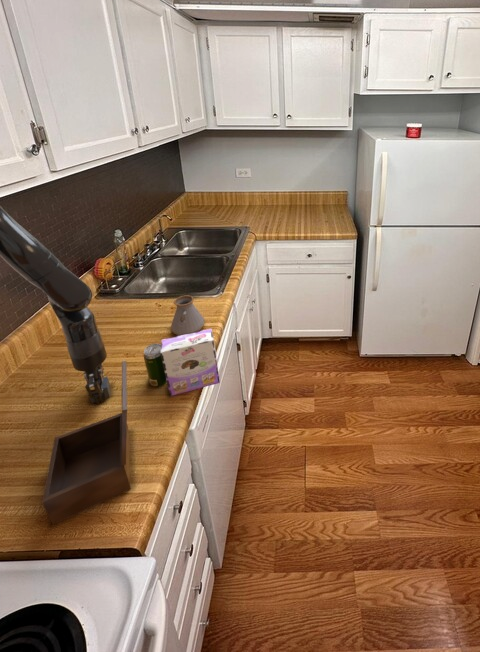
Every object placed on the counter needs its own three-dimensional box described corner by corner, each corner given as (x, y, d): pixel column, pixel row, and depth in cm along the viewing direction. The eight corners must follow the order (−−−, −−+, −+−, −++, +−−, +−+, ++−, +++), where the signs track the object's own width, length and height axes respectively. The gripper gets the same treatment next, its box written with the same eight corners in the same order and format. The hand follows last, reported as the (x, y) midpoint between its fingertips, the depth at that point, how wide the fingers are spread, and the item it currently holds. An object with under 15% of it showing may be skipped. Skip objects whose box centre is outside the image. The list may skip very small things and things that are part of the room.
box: (53, 527, 65) (41, 502, 62) (64, 460, 77) (54, 437, 74) (131, 490, 71) (124, 466, 68) (130, 434, 83) (123, 412, 80)
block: (92, 405, 91) (88, 393, 89) (93, 393, 94) (89, 382, 93) (110, 399, 93) (107, 387, 91) (110, 387, 96) (107, 376, 95)
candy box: (218, 370, 103) (212, 327, 97) (220, 385, 98) (214, 340, 91) (170, 383, 98) (161, 338, 92) (169, 398, 93) (159, 352, 87)
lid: (122, 410, 64) (127, 409, 64) (122, 361, 76) (126, 360, 76) (121, 466, 68) (126, 464, 68) (121, 411, 80) (125, 410, 80)
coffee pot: (173, 323, 124) (166, 289, 118) (205, 317, 127) (200, 284, 122) (168, 364, 105) (161, 325, 100) (206, 356, 109) (201, 318, 103)
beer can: (165, 388, 96) (158, 356, 92) (146, 388, 96) (138, 356, 92) (172, 374, 101) (166, 343, 97) (155, 374, 101) (148, 342, 97)
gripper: (72, 336, 91) (87, 383, 98) (65, 370, 80) (83, 421, 86) (104, 327, 95) (117, 373, 101) (101, 360, 83) (116, 409, 89)
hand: (101, 395), depth 93 cm, fingers closed on block, 4 cm apart
